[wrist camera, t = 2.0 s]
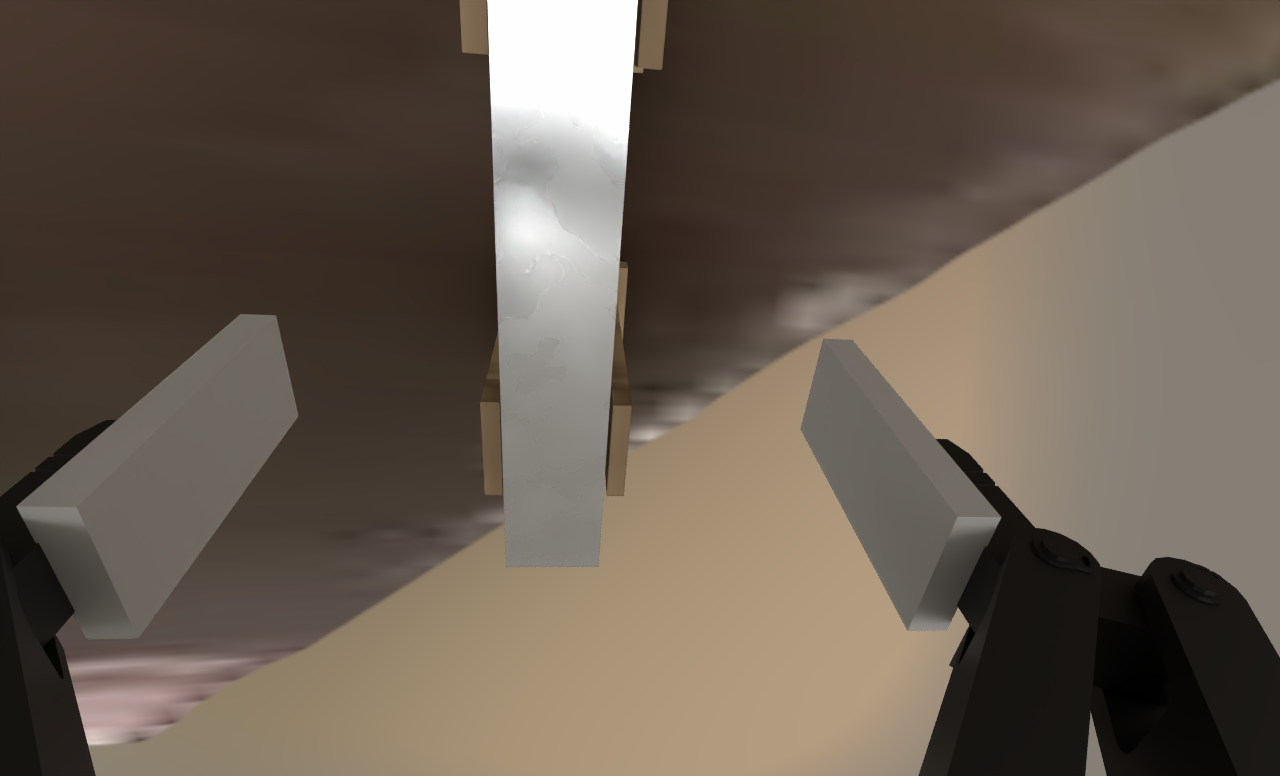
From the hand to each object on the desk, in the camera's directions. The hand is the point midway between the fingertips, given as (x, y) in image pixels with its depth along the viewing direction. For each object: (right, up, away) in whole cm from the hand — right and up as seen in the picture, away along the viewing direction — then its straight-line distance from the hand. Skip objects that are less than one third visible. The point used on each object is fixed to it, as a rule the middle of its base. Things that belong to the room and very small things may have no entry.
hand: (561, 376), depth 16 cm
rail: (-1, +6, +10) cm, 11 cm away
